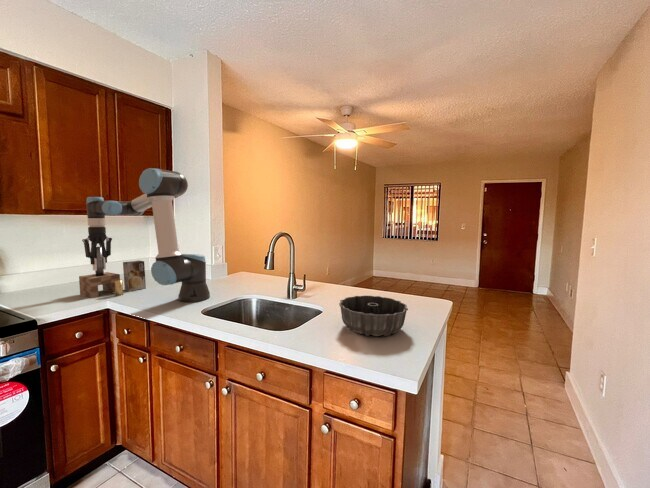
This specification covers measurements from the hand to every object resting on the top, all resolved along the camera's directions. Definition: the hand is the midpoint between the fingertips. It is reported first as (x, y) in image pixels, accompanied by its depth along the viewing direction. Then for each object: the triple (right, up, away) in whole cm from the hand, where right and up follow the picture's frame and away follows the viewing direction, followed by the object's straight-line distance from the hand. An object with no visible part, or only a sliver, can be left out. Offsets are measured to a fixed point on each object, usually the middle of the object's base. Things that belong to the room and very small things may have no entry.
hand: (99, 269), depth 168 cm
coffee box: (+12, -12, +12) cm, 21 cm away
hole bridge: (0, -13, +1) cm, 13 cm away
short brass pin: (+12, -13, -2) cm, 18 cm away
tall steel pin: (0, -5, 0) cm, 5 cm away
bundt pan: (+140, -20, -45) cm, 149 cm away
